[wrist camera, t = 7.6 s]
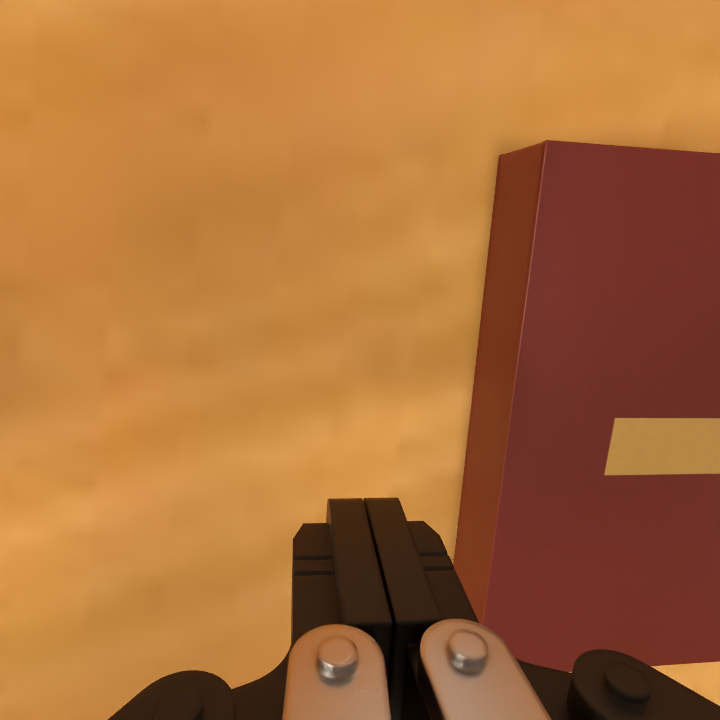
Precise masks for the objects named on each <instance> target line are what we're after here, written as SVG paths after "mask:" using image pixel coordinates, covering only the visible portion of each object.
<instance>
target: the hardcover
mask: <svg viewBox="0 0 720 720" xmlns="http://www.w3.org/2000/svg"><path fill="white" fill-rule="evenodd" d="M454 570H456V573H457V575H458V577H459V579H460V581H461V584H462V586H463V588H464V590H465V592H466V595H467V597H468V599H469V601H470V603H471V606H472V608H473V610H474V612H475V614H476V617H477V619H478V621H479V623H480V624H482V625H484V626H486V627H488V628H489V629H491V630H492V631H494V632H495V633H496V634H498V635H499V636H500V637H501V638H502V639H503V640H504V641H505V643H506V644H507V645H508V647H509V648H510V650H511V652H512V653H513V655H514V657H515V658H517V659H519V660H522V661H524V662H527V663H530V664H534V665H538V666H542V667H547V668H552V669H556V670H561V671H565V672H572V671H573V666H574V663H575V661H576V659H577V658H578V657H579V656H580V655H581V654H583V653H585V652H587V651H590V650H596V649H607V650H613V651H617V652H621V653H624V654H627V655H629V656H632V657H634V658H636V659H638V660H640V661H642V662H643V663H645V664H647V665H649V666H660V665H674V664H689V663H703V662H717V661H720V154H719V153H706V152H693V151H680V150H667V149H654V148H641V147H628V146H615V145H602V144H589V143H576V142H563V141H550V140H547V141H544V142H542V143H539V144H536V145H533V146H530V147H526V148H523V149H520V150H517V151H514V152H510V153H507V154H502V155H499V160H498V169H497V178H496V187H495V196H494V205H493V214H492V223H491V232H490V241H489V250H488V259H487V268H486V277H485V286H484V295H483V304H482V313H481V322H480V331H479V340H478V349H477V358H476V367H475V376H474V385H473V394H472V404H471V413H470V422H469V431H468V440H467V449H466V458H465V467H464V476H463V485H462V494H461V503H460V512H459V521H458V530H457V539H456V548H455V557H454Z"/></svg>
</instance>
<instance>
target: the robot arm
mask: <svg viewBox="0 0 720 720" xmlns="http://www.w3.org/2000/svg"><path fill="white" fill-rule="evenodd" d="M108 720H720V706H718V705H717V704H715V703H713V702H711V701H710V700H708V699H706V698H704V697H703V696H701V695H699V694H697V693H696V692H694V691H692V690H690V689H689V688H687V687H685V686H684V685H682V684H680V683H678V682H677V681H675V680H673V679H671V678H670V677H668V676H666V675H664V674H663V673H661V672H659V671H657V670H656V669H654V668H652V667H650V666H649V665H647V664H645V663H643V662H642V661H640V660H638V659H636V658H634V657H632V656H629V655H627V654H624V653H621V652H617V651H613V650H607V649H596V650H590V651H587V652H585V653H583V654H581V655H580V656H579V657H578V658H577V659H576V661H575V663H574V666H573V671H572V673H570V672H565V671H561V670H556V669H552V668H547V667H542V666H538V665H534V664H530V663H527V662H524V661H522V660H519V659H517V658H515V657H514V655H513V653H512V652H511V650H510V648H509V647H508V645H507V644H506V643H505V641H504V640H503V639H502V638H501V637H500V636H499V635H498V634H496V633H495V632H494V631H492V630H491V629H489V628H488V627H486V626H484V625H482V624H480V623H479V621H478V619H477V617H476V614H475V612H474V610H473V608H472V606H471V603H470V601H469V599H468V597H467V595H466V592H465V590H464V588H463V586H462V584H461V581H460V579H459V577H458V575H457V573H456V570H454V566H453V564H452V562H451V559H450V557H449V556H447V551H446V548H445V546H444V544H443V542H442V540H441V537H440V535H439V534H437V533H436V532H435V531H434V530H433V529H432V528H431V527H430V526H428V525H427V524H426V523H425V522H424V521H407V520H406V517H405V514H404V511H403V509H402V506H401V503H400V501H399V499H398V498H364V499H363V500H362V498H350V499H328V502H327V518H326V523H308V524H303V525H302V526H301V528H300V529H299V531H298V532H297V534H296V535H295V537H294V538H293V564H292V611H291V647H290V649H289V651H288V653H287V655H286V657H285V658H284V659H283V661H282V662H281V663H280V664H279V665H278V666H277V667H276V668H275V669H274V670H273V671H271V672H270V673H269V674H267V675H265V676H264V677H262V678H260V679H258V680H256V681H253V682H251V683H248V684H245V685H242V686H240V687H237V688H234V689H231V688H230V687H229V686H228V684H227V683H226V682H225V681H224V680H222V679H221V678H220V677H218V676H216V675H214V674H212V673H208V672H205V671H197V670H193V671H182V672H177V673H174V674H170V675H168V676H165V677H163V678H160V679H159V680H157V681H155V682H154V683H152V684H150V685H149V686H148V687H146V688H145V689H144V690H142V691H141V692H140V693H139V694H138V695H137V696H135V697H134V698H133V699H132V700H131V701H129V702H128V703H127V704H126V705H125V706H123V707H122V708H121V709H120V710H119V711H118V712H116V713H115V714H114V715H113V716H112V717H110V718H109V719H108Z"/></svg>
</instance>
